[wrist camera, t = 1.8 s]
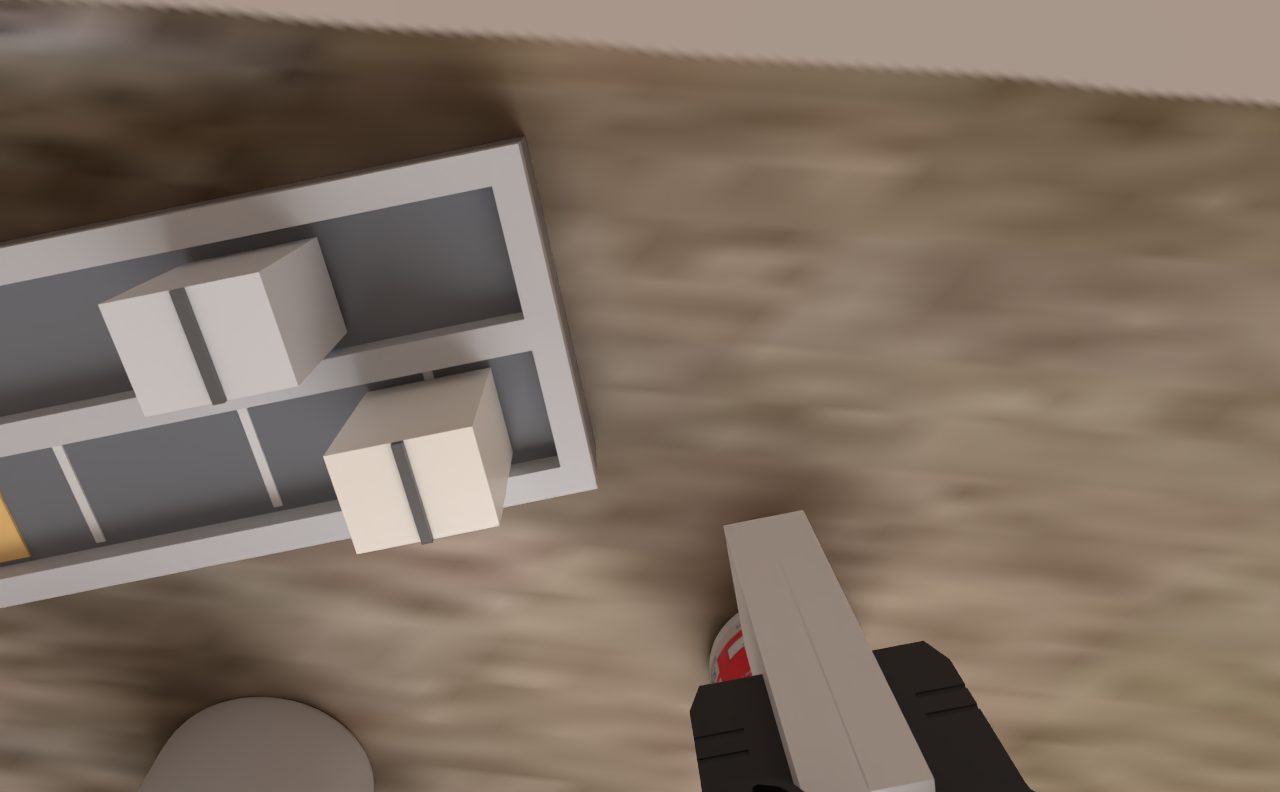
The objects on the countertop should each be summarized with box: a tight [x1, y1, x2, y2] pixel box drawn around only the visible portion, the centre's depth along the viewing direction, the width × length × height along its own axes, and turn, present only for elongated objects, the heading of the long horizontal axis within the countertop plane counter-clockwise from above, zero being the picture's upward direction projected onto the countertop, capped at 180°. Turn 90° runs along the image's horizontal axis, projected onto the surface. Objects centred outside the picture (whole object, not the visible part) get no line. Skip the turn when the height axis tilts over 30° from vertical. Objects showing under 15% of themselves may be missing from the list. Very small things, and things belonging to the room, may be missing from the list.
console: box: [0, 136, 598, 608], centre depth 28 cm, size 27×11×3 cm, turn 101°
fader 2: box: [323, 367, 513, 554], centre depth 26 cm, size 4×3×5 cm
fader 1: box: [98, 237, 347, 417], centre depth 24 cm, size 4×3×5 cm
